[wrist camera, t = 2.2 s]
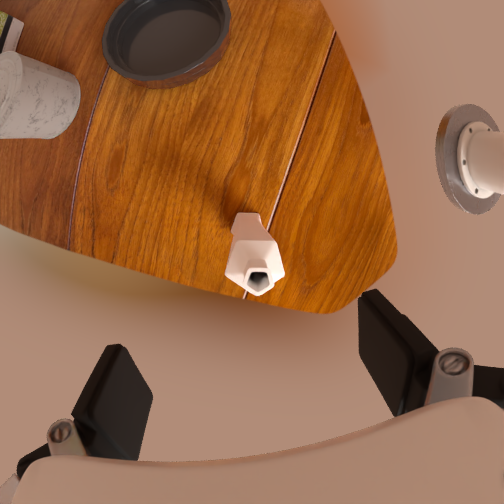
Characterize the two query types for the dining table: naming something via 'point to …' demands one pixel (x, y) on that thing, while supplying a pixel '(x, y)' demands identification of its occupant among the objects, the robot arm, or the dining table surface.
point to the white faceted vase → (253, 255)
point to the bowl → (166, 40)
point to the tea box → (9, 32)
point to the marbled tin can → (35, 98)
